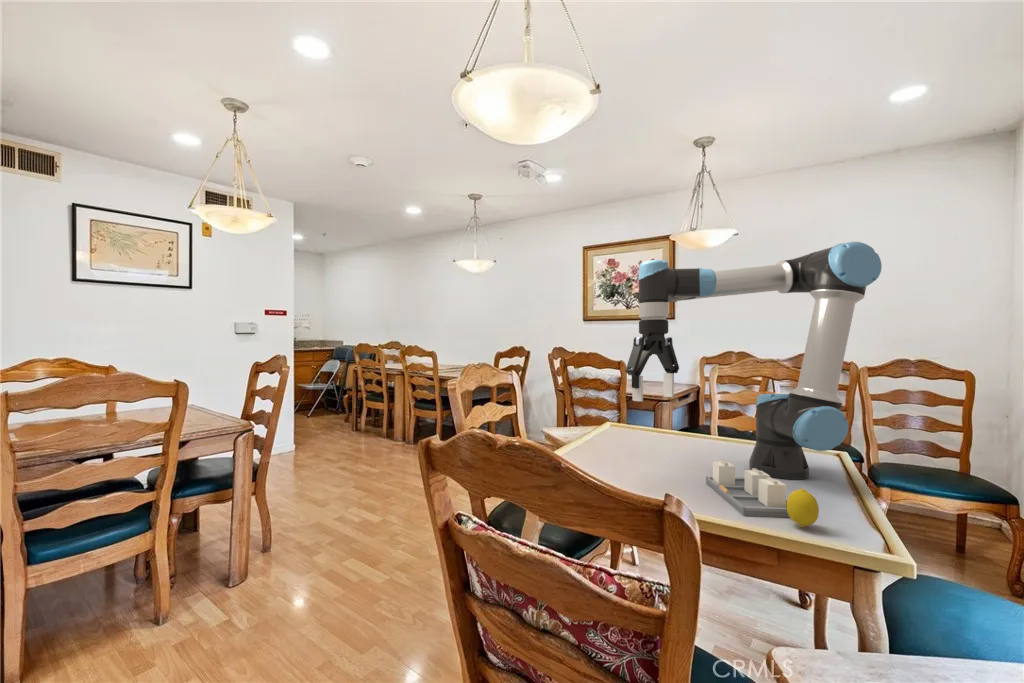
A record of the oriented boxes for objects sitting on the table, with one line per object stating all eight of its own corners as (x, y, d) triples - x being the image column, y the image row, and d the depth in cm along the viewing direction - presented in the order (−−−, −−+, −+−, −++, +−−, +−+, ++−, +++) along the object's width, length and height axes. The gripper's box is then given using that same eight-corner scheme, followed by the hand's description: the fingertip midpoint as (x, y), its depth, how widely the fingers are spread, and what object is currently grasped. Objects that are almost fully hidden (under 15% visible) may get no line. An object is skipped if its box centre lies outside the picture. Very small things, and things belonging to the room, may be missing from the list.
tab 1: (728, 480, 115) (728, 459, 115) (734, 486, 111) (735, 464, 111) (712, 480, 116) (712, 459, 116) (718, 485, 112) (719, 463, 112)
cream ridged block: (761, 490, 108) (761, 468, 108) (769, 496, 104) (769, 473, 104) (744, 490, 108) (744, 467, 108) (752, 495, 104) (752, 472, 104)
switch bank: (748, 484, 117) (748, 475, 117) (795, 517, 95) (795, 506, 95) (705, 483, 118) (706, 473, 118) (743, 515, 96) (743, 504, 96)
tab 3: (776, 501, 101) (776, 476, 101) (785, 507, 97) (786, 482, 97) (758, 500, 101) (758, 476, 101) (767, 507, 97) (767, 481, 97)
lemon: (808, 535, 86) (809, 495, 86) (780, 524, 91) (781, 486, 91) (824, 530, 89) (824, 490, 89) (796, 520, 94) (796, 482, 94)
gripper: (668, 320, 127) (668, 393, 127) (611, 318, 112) (611, 401, 112) (692, 319, 121) (692, 396, 121) (635, 317, 106) (635, 404, 106)
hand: (653, 398), depth 117 cm, fingers open, 13 cm apart
